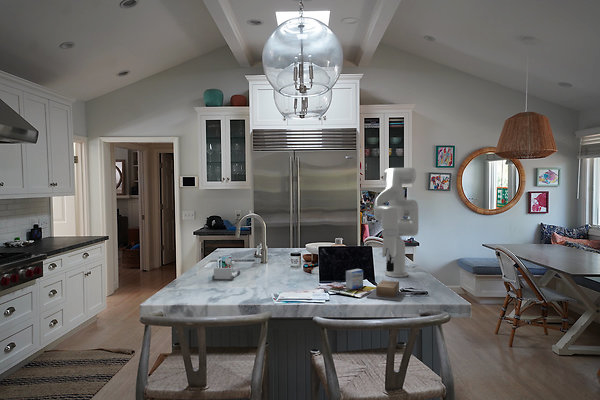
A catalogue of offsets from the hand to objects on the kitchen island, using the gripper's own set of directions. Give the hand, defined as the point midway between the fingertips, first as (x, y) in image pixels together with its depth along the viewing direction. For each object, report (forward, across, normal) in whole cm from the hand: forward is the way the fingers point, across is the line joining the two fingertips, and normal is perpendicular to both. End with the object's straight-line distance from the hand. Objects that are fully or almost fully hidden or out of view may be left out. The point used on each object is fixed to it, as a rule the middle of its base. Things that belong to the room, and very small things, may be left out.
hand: (390, 271), depth 189 cm
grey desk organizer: (+10, +3, -91) cm, 92 cm away
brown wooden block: (+7, -1, 0) cm, 7 cm away
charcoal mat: (+10, +8, 0) cm, 12 cm away
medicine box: (+10, -1, -18) cm, 21 cm away
